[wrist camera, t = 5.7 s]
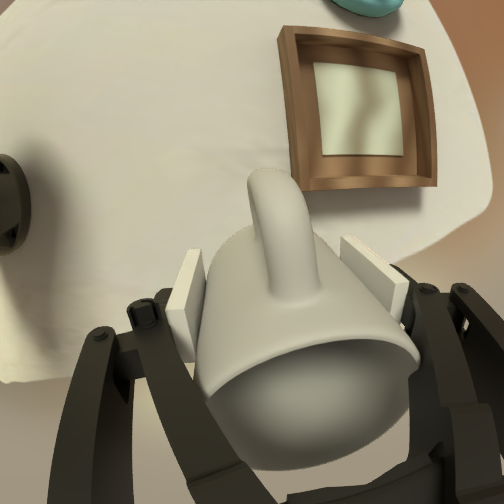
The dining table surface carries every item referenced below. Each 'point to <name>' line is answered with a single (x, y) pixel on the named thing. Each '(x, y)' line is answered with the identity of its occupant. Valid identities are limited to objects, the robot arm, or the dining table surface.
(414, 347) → the mug
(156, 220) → the dining table surface
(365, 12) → the teal branch stand
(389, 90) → the walnut box
